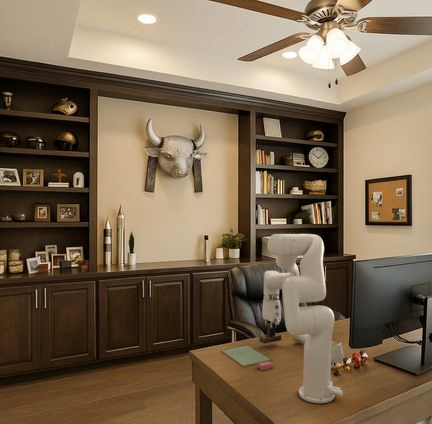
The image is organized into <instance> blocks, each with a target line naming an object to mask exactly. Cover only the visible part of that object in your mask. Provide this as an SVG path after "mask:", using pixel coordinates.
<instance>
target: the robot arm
mask: <svg viewBox="0 0 432 424" xmlns="http://www.w3.org/2000/svg"><path fill="white" fill-rule="evenodd" d="M267 251H268V253H269V254H270V255H273V256H276V257H275V264H276V266H277V267H278V268H279V269H281V270H282V271H283V270H284V271H286V272H279V271H277V270H265V271H264V273H263V300H262V309H261V316H262V320H263V321H264V326H265V335H267V323H270V327H271V328H270V333H269V336H270V337H271V336H275V335H276V333H277V326H279V325H280V322H281V321H282V308H281V302H280V301H281V300H280V290H281V293H282V303H283V304H282V305H283V317H284V325H285V328H286V331H287V333H288V334H290V335H291V336H292V335H308V336H307V338H306V340H305V343H303V371H302V372H303V375H302V376H303V377H302V386H300V388H299V389H298V396H299V397H300V398H301V399H302V400H304V401H305V402H307V403H308V402H309V403H313V404H327V403H330V402H332V401H333V400H334V399H335V396H337V397H343V395H344V390H341V387H338V386H334V385H333V381H331V375H332V374H331V369H332V368H331V365H332V363H331V343H332V342H331V340H333V338H332V337H333V332H334V331H333V330H334V328H335V327H334V326H335V320H336V319H335V314H334V311H333V310H332V309H331V308H330V307H328V306H326V305H307V306H300V304H302V303H303V304H304V303H318V302H321V301H324V300H325V299H326V297H327V286H326V278H325V270H324V269H325V268H324V254H325V244H324V241H323V239H322V237H321V236H320V235H318V234H313V233H273V234H272V235H270V236H269V238H268V240H267ZM298 257H301V259H300V262H299V267H298V265H297V263H296V262H297V259H298ZM299 270H300V271H299ZM299 273H300V274H299Z"/></svg>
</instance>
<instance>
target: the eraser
mask: <svg viewBox="0 0 432 424" xmlns="http://www.w3.org/2000/svg"><path fill="white" fill-rule="evenodd" d="M257 368H258V369H260V371H264V370H268V369H273V363H272V362H270V360H267V361H262V362H258V363H257Z"/></svg>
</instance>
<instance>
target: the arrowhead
mask: <svg viewBox="0 0 432 424" xmlns="http://www.w3.org/2000/svg"><path fill="white" fill-rule="evenodd" d="M338 343H339V344H338V345H337V344H335V346H334V348H333V351H332V354H331V362H332V363H331V369H334V368H335V366H334V363H338V362H339V363H342V362H343V360H344V358H345V359H346V356H345V354H344V350H343V343H342V342H338ZM343 366H344V367H345V363H344V364H343V365H342V366H341V367H343ZM335 369H336V368H335Z"/></svg>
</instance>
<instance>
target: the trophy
mask: <svg viewBox="0 0 432 424" xmlns="http://www.w3.org/2000/svg"><path fill="white" fill-rule="evenodd" d="M308 335H309V334H307V335H291V338H292V341H293V342H294V343H295V344H304V343H305V340H306V338H307V336H308ZM339 343H340V342H337V341H335V340H333V339H331V354H332V351H333V348H334V346H335V345H338V344H339ZM331 364H332V362H331Z"/></svg>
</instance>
